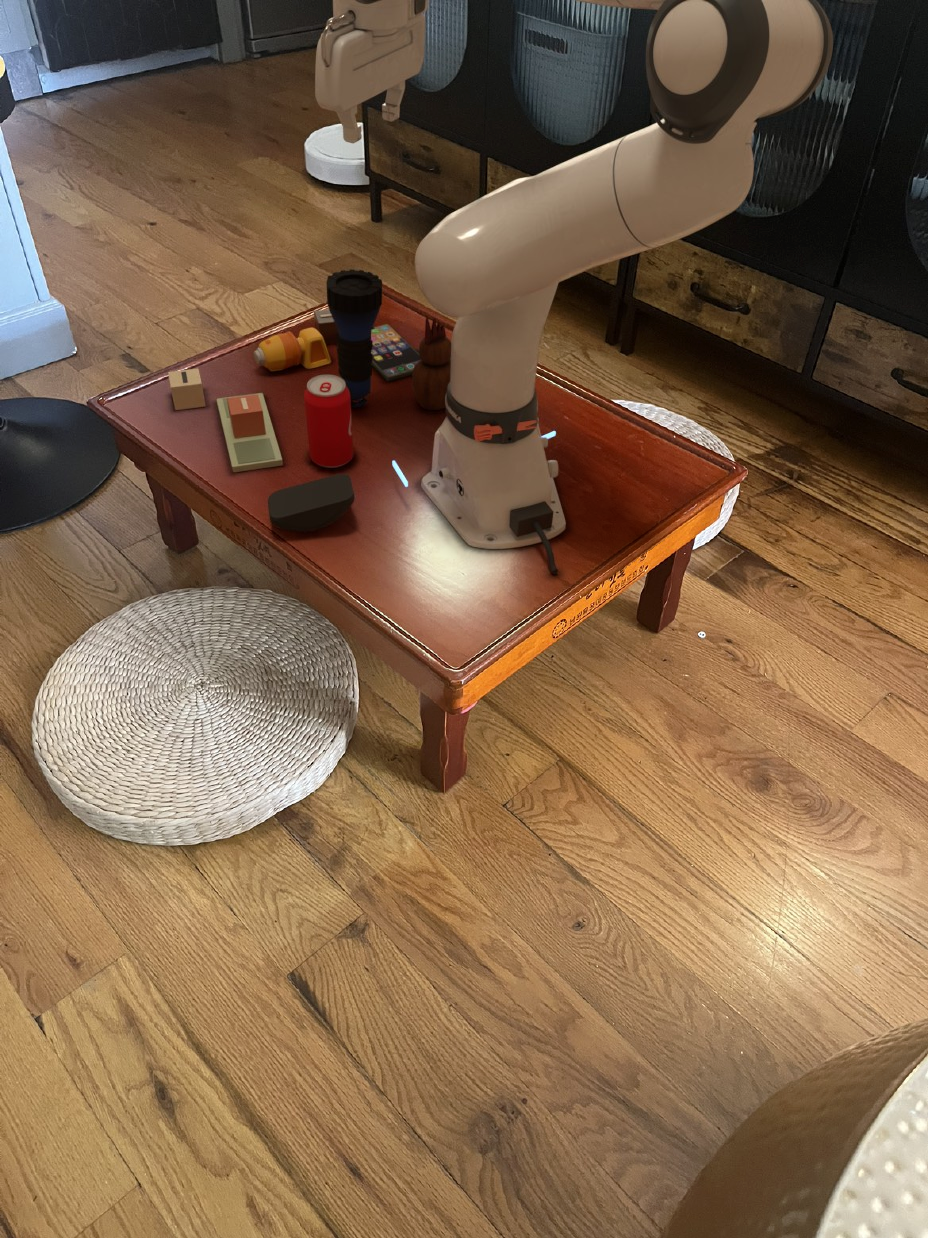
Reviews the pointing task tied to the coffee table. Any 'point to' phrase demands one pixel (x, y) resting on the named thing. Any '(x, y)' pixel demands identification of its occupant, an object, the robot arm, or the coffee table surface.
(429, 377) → the wooden figurine
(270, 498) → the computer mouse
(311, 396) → the beverage can
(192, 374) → the letter i block
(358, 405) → the flashlight
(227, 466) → the coffee table surface
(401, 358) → the smartphone
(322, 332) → the brown box with stripe
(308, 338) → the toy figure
